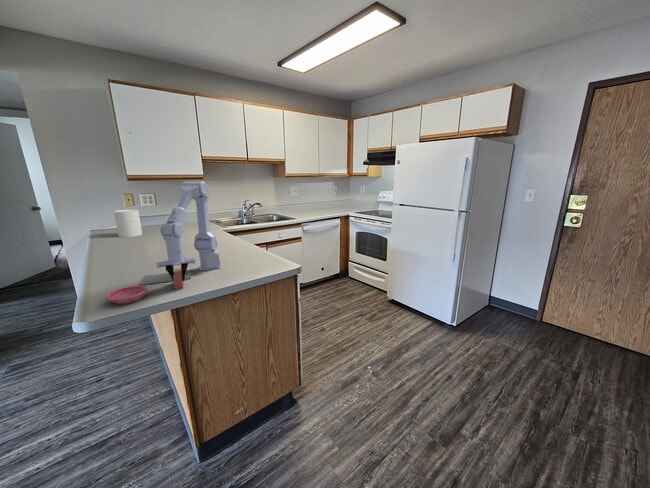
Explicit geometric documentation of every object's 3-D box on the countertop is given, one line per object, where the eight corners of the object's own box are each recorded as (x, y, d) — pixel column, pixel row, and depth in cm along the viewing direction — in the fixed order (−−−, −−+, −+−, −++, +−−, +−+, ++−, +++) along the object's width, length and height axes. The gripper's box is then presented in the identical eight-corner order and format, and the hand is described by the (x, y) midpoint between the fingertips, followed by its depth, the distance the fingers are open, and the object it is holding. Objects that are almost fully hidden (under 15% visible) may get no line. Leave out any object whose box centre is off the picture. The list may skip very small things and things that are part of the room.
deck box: (184, 280, 120) (182, 268, 118) (183, 288, 112) (181, 274, 110) (176, 282, 119) (174, 269, 117) (174, 289, 111) (172, 276, 109)
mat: (191, 270, 133) (191, 269, 133) (190, 278, 122) (190, 277, 122) (144, 276, 125) (144, 275, 124) (138, 285, 114) (138, 284, 114)
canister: (146, 234, 219) (142, 210, 214) (125, 237, 205) (120, 212, 200) (135, 232, 226) (131, 209, 221) (114, 235, 212) (109, 211, 208)
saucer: (120, 309, 94) (119, 301, 93) (101, 302, 99) (99, 294, 98) (155, 295, 105) (153, 288, 104) (135, 290, 110) (134, 283, 109)
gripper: (153, 255, 105) (158, 286, 108) (193, 251, 111) (197, 281, 114) (155, 250, 111) (160, 281, 114) (194, 247, 117) (197, 276, 120)
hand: (179, 280), depth 115 cm, fingers closed on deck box, 3 cm apart
